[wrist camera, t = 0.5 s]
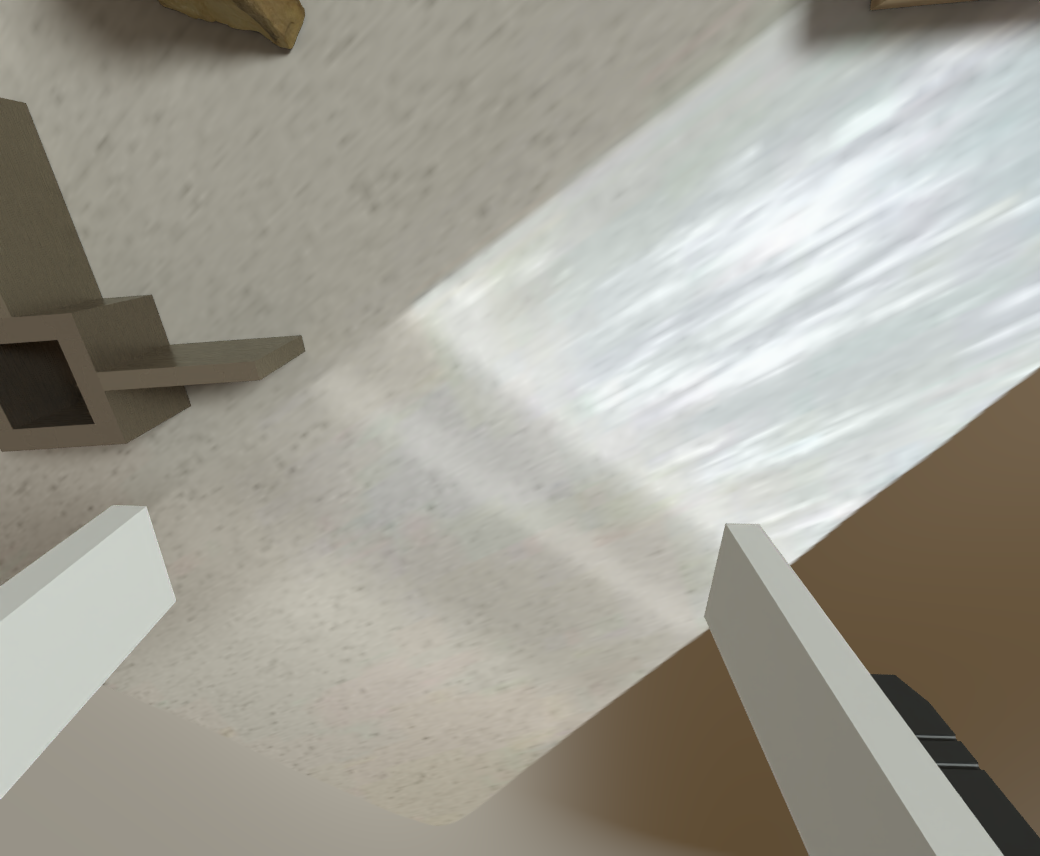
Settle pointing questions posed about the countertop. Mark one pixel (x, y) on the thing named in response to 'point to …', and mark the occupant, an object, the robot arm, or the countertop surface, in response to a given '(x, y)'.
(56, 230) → the hinge
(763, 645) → the robot arm
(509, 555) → the countertop surface
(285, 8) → the rock
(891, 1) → the bread crate
